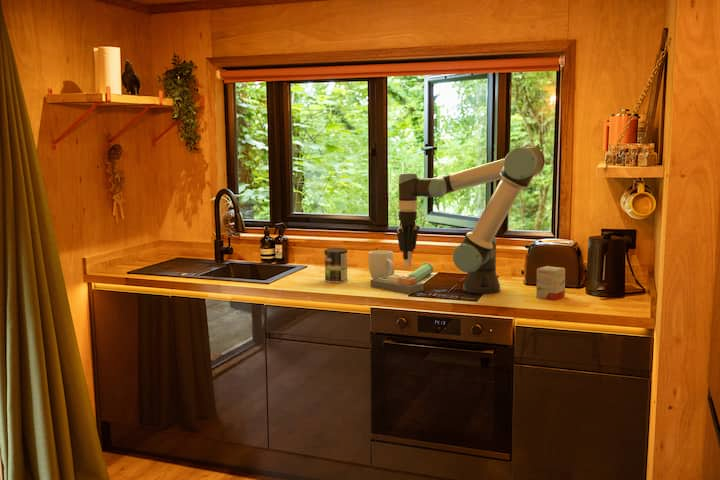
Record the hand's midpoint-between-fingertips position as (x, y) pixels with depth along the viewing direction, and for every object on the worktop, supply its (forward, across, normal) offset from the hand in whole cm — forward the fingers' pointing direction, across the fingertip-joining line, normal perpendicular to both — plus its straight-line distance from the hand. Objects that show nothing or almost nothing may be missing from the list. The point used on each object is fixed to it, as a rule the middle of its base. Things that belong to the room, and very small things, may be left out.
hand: (407, 266), depth 299 cm
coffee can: (+11, +5, -38) cm, 40 cm away
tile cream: (+8, 0, -6) cm, 10 cm away
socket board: (+10, 0, -6) cm, 12 cm away
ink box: (+10, -28, +51) cm, 59 cm away
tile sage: (+10, 0, -13) cm, 16 cm away
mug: (+11, -7, -21) cm, 24 cm away
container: (+11, -22, -12) cm, 27 cm away
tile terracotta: (+8, 0, 0) cm, 8 cm away
